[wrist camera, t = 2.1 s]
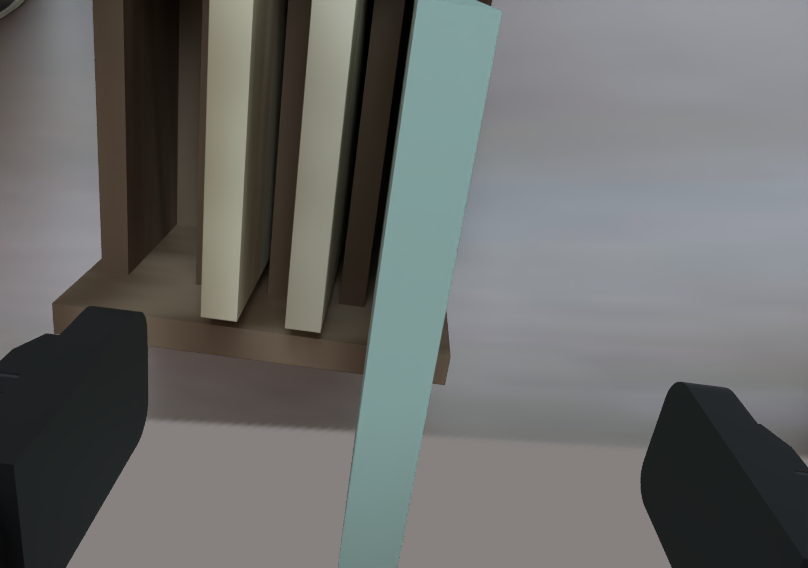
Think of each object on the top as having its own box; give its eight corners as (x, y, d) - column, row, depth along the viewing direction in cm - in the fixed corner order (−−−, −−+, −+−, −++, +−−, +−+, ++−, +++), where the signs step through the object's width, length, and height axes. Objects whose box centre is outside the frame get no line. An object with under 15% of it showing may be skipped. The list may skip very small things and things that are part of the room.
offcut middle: (377, -24, 28) (358, -23, 19) (347, 232, 32) (320, 332, 23) (347, -28, 28) (314, -29, 19) (321, 228, 32) (284, 328, 23)
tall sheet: (445, -13, 28) (502, 10, 10) (406, 240, 33) (395, 580, 14) (416, -17, 28) (418, -2, 10) (381, 236, 32) (337, 572, 14)
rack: (496, -59, 28) (535, -75, 19) (437, 276, 34) (444, 385, 25) (150, -115, 28) (20, -159, 19) (152, 236, 34) (54, 333, 25)
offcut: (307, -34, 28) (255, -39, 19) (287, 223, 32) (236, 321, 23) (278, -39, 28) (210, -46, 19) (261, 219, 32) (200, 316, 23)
